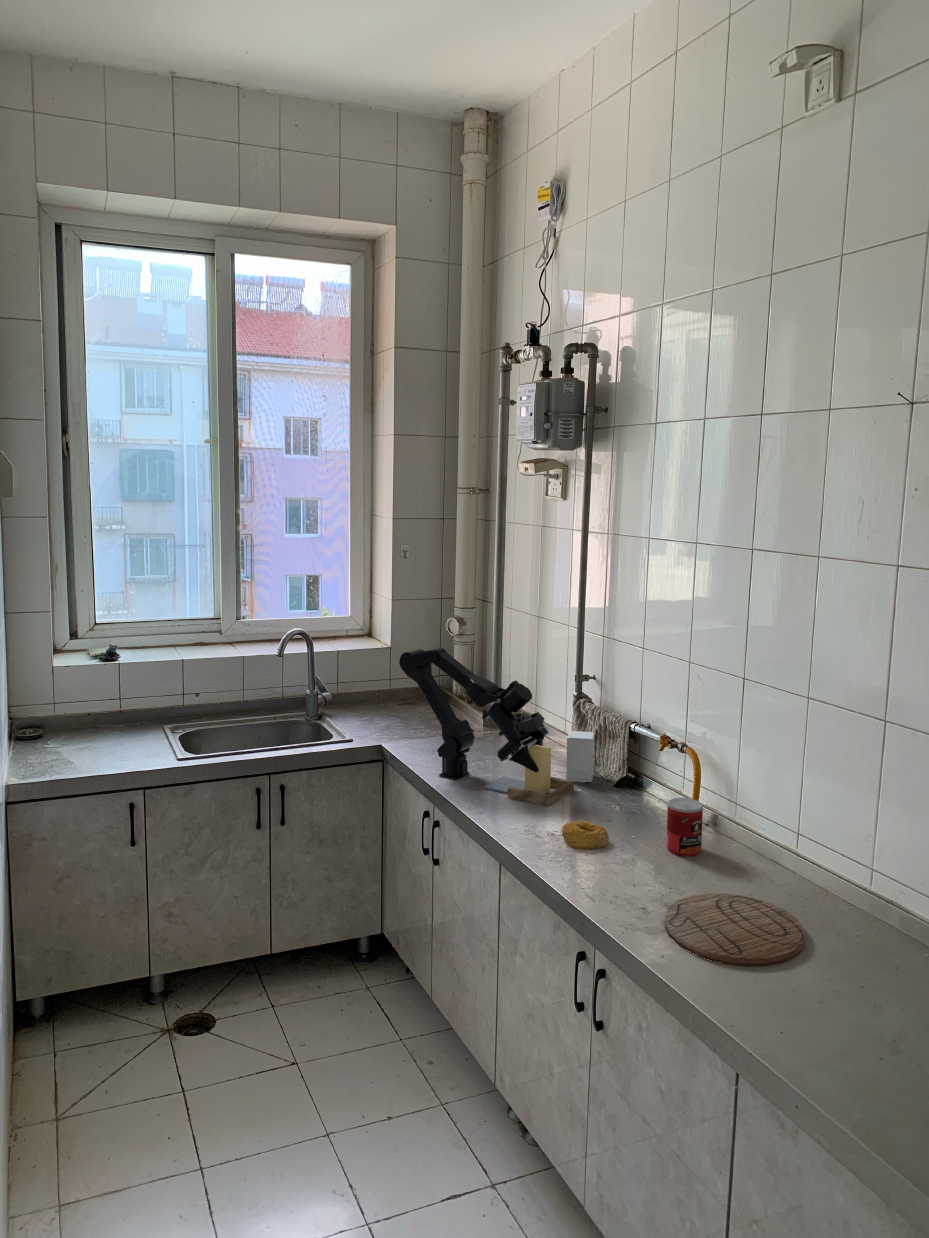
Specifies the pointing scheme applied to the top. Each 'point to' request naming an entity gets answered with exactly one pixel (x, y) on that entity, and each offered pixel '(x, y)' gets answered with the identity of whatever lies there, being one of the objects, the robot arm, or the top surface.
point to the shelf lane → (543, 799)
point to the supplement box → (580, 756)
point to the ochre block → (543, 777)
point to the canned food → (684, 826)
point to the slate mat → (505, 785)
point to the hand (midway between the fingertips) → (542, 768)
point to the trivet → (735, 929)
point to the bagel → (584, 835)
